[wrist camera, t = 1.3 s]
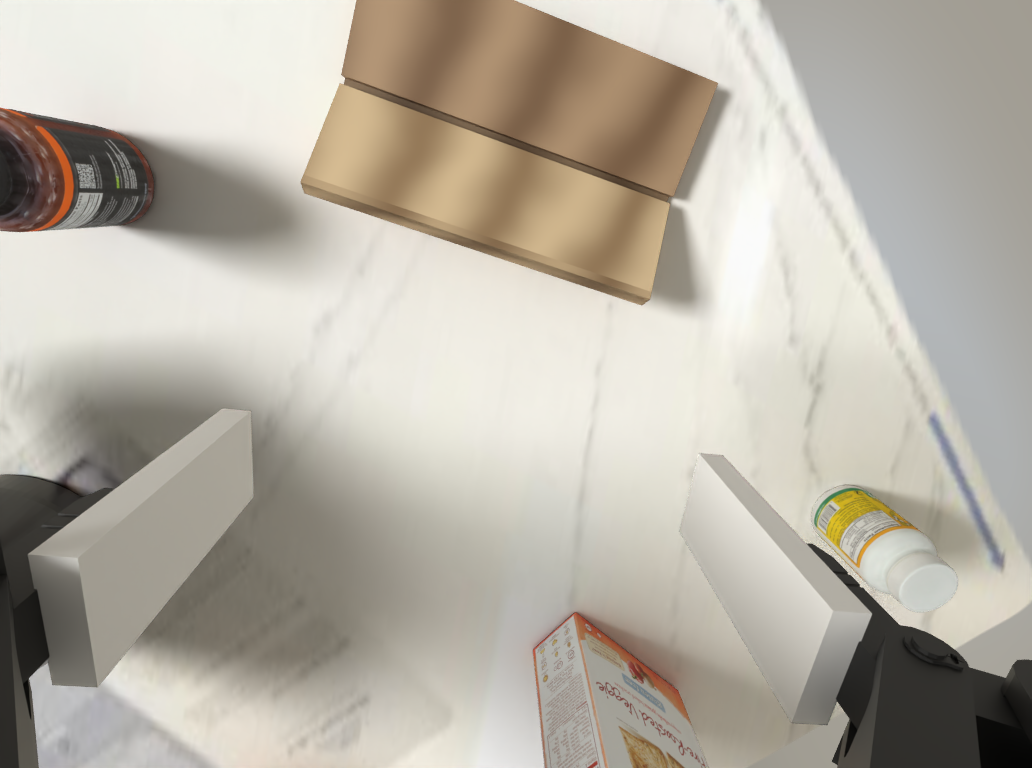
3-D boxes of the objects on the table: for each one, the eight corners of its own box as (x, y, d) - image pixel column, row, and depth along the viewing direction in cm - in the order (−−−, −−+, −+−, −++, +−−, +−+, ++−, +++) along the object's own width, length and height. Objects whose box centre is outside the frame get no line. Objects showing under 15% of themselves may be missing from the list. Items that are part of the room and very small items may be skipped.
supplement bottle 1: (40, 156, 34) (-170, 132, 23) (116, 109, 33) (-64, 61, 22) (105, 242, 35) (-63, 258, 25) (178, 199, 35) (39, 196, 24)
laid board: (344, 89, 33) (339, 85, 32) (372, -49, 31) (368, -59, 30) (664, 205, 36) (669, 205, 35) (710, 87, 34) (718, 83, 33)
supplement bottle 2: (801, 498, 44) (882, 573, 35) (863, 472, 44) (962, 542, 35) (817, 547, 46) (898, 631, 37) (877, 523, 45) (974, 603, 36)
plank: (304, 193, 32) (300, 182, 31) (342, 97, 33) (339, 83, 32) (642, 305, 35) (650, 299, 34) (661, 212, 36) (670, 203, 35)
